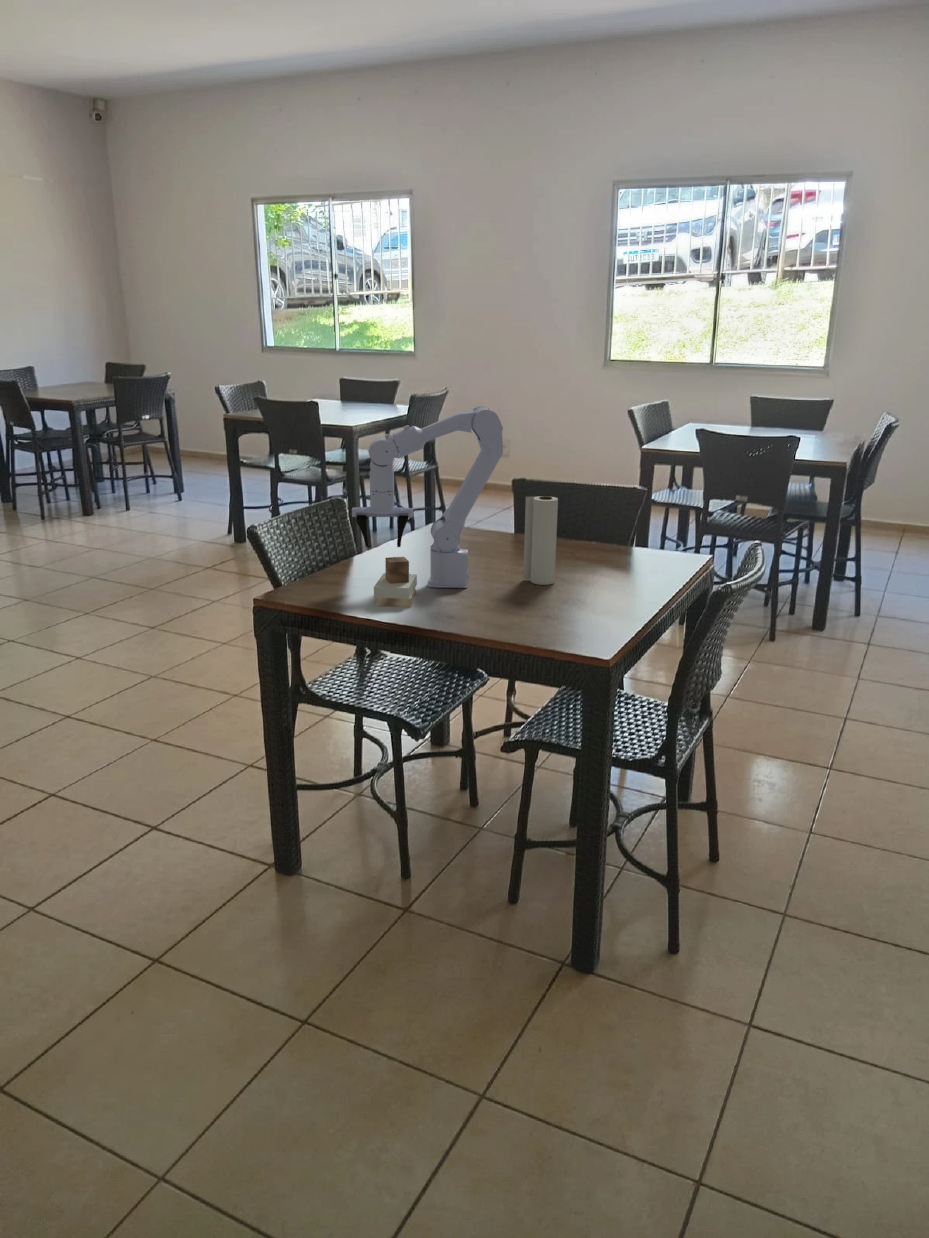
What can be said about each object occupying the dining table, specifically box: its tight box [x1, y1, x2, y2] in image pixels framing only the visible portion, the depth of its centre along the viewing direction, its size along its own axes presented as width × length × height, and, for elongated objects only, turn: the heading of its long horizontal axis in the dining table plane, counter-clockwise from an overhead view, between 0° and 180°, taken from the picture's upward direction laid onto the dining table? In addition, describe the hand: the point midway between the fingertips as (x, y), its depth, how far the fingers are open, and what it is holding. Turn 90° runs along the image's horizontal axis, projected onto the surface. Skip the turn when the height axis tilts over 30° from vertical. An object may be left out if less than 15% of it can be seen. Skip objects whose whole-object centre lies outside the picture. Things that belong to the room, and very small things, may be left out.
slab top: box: [373, 572, 418, 599], centre depth 215 cm, size 8×12×2 cm, turn 174°
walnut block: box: [384, 556, 410, 583], centre depth 214 cm, size 4×4×5 cm
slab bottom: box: [375, 588, 416, 608], centre depth 216 cm, size 8×12×2 cm, turn 178°
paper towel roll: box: [522, 495, 559, 586], centre depth 227 cm, size 7×6×21 cm
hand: (383, 546), depth 223 cm, fingers open, 7 cm apart
